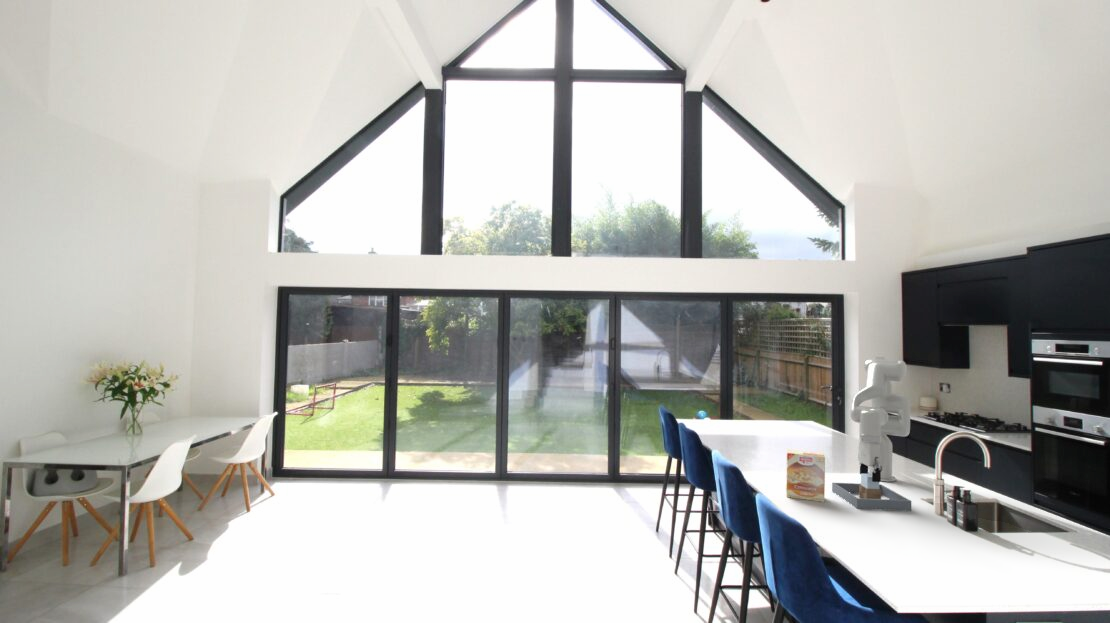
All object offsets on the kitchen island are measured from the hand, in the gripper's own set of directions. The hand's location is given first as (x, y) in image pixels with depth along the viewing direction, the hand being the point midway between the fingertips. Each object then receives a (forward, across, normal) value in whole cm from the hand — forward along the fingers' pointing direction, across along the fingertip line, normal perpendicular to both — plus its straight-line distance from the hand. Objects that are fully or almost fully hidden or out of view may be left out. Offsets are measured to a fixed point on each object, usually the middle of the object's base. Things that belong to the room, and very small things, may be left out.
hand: (870, 478), depth 223 cm
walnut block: (+10, 0, 0) cm, 10 cm away
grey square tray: (+10, 0, 0) cm, 10 cm away
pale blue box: (+4, 0, 0) cm, 4 cm away
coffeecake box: (+10, -1, -27) cm, 29 cm away
